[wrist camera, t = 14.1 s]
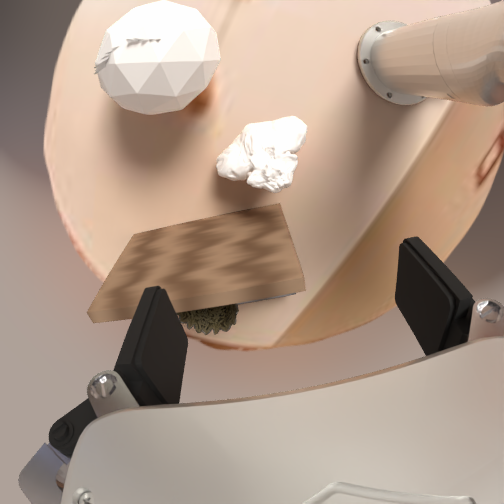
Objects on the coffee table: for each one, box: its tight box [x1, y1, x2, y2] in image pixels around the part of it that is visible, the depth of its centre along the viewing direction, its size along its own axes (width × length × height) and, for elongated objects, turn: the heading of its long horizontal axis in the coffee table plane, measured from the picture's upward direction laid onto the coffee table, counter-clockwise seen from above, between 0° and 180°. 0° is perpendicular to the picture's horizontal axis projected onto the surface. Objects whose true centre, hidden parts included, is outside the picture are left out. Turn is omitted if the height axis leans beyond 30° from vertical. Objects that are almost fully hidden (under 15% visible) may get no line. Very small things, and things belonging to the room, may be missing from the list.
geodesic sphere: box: [95, 0, 221, 115], centre depth 26 cm, size 14×14×14 cm
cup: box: [177, 303, 239, 335], centre depth 38 cm, size 8×7×8 cm
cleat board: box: [87, 204, 306, 323], centre depth 38 cm, size 22×12×18 cm, turn 101°
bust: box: [216, 116, 307, 193], centre depth 34 cm, size 12×8×11 cm
